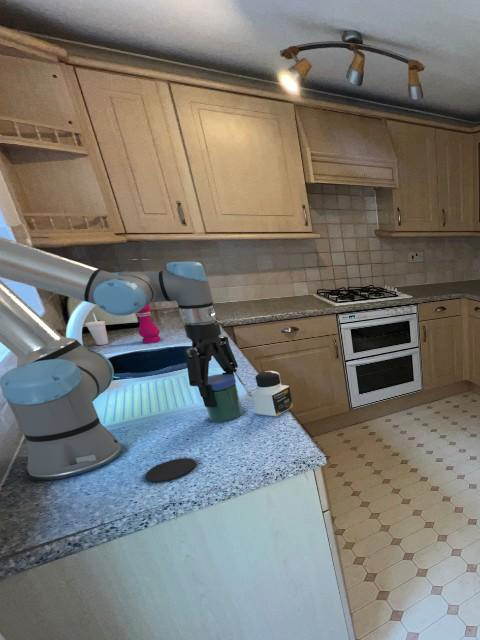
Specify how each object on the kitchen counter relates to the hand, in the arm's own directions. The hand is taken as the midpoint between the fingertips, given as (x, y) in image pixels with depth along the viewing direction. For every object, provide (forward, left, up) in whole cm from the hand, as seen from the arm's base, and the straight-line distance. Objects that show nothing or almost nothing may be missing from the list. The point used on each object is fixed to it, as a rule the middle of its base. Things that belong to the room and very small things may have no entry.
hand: (222, 399), depth 116 cm
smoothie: (-100, +68, -5) cm, 122 cm away
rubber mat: (+6, -28, -5) cm, 29 cm away
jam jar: (0, 0, -5) cm, 5 cm away
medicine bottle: (+12, +4, -5) cm, 14 cm away
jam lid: (0, 0, +6) cm, 6 cm away
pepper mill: (-83, +74, -5) cm, 111 cm away
